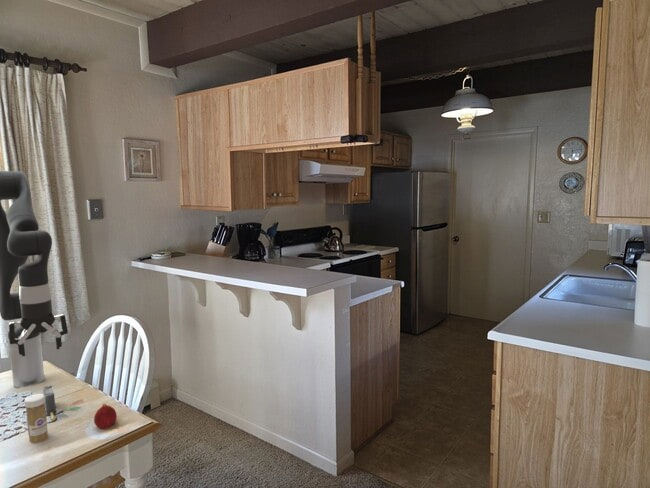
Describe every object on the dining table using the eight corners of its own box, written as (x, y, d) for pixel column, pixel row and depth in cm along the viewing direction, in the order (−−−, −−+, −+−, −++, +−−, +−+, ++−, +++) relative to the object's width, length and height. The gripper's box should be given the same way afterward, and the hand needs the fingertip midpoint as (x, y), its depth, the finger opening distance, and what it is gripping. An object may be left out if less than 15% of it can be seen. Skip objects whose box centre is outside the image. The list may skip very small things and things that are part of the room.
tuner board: (28, 411, 135) (27, 407, 135) (82, 397, 144) (82, 392, 144) (31, 434, 122) (31, 430, 122) (90, 417, 131) (90, 413, 131)
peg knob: (44, 405, 136) (42, 387, 135) (53, 402, 137) (51, 384, 136) (48, 422, 126) (46, 403, 125) (58, 420, 127) (56, 400, 126)
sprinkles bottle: (36, 449, 115) (31, 402, 114) (25, 445, 117) (20, 399, 115) (53, 440, 120) (48, 394, 118) (41, 436, 121) (37, 391, 119)
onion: (122, 425, 126) (120, 400, 125) (106, 436, 121) (104, 410, 120) (106, 422, 128) (104, 397, 127) (90, 433, 123) (88, 406, 122)
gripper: (62, 292, 132) (67, 342, 135) (5, 300, 124) (11, 353, 127) (65, 298, 126) (70, 350, 129) (5, 306, 118) (11, 362, 121)
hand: (41, 352), depth 128 cm, fingers open, 8 cm apart
